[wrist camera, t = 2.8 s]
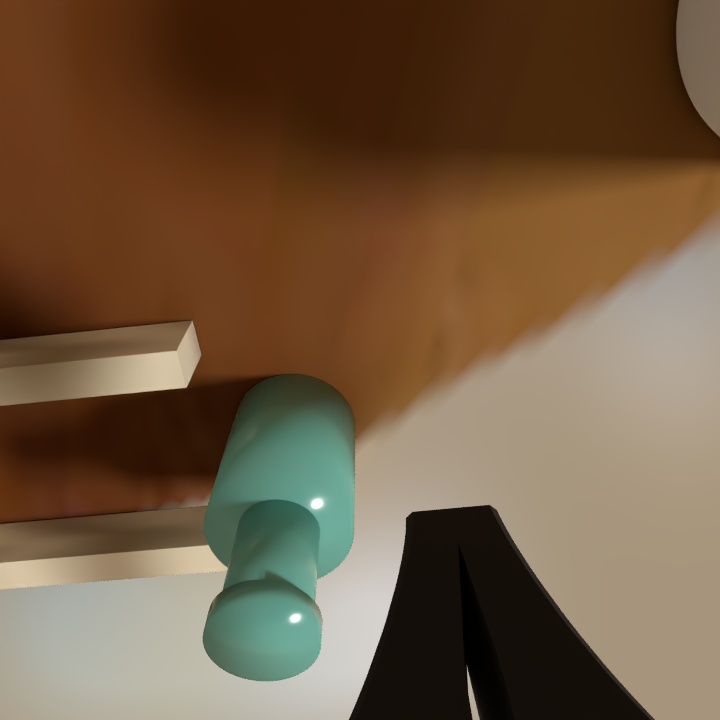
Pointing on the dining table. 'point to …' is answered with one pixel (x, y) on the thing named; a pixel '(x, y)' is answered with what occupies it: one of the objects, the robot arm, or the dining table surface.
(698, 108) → the pill bottle
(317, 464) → the bottle
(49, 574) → the cradle
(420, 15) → the dining table surface
